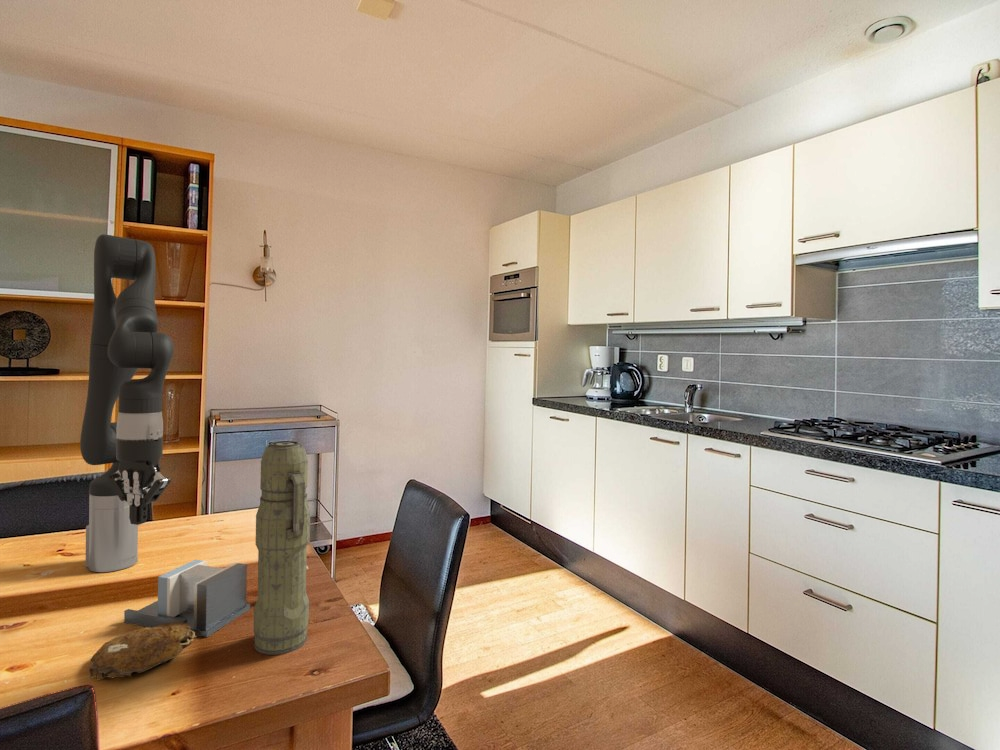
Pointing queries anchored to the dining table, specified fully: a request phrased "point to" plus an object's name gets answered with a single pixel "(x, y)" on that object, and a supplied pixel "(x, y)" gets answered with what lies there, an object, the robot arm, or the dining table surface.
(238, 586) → the vise
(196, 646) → the dining table surface
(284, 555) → the thermos
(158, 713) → the dining table surface
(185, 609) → the steel block
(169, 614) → the block
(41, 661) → the dining table surface
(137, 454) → the robot arm
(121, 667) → the decorative rock
